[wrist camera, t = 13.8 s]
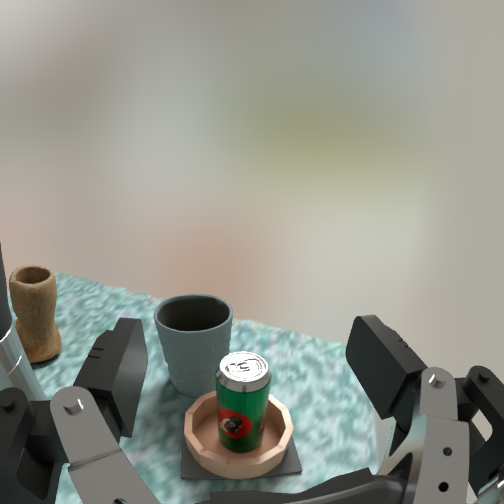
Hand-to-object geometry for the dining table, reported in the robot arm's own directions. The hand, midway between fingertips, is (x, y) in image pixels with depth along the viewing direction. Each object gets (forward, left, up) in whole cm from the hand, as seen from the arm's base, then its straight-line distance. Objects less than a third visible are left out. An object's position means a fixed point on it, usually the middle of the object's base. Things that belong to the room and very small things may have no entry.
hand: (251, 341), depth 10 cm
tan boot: (-35, +28, -24) cm, 51 cm away
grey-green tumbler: (-4, +23, -24) cm, 33 cm away
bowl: (+1, +11, -23) cm, 25 cm away
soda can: (+1, +11, -23) cm, 25 cm away
